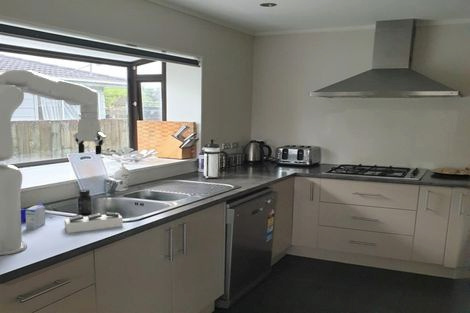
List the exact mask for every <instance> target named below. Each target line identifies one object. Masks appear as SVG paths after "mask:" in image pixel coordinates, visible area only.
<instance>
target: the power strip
mask: <svg viewBox="0 0 470 313" xmlns="http://www.w3.org/2000/svg"><path fill="white" fill-rule="evenodd" d="M88 216H89V215H87V216H83V219H81V220H77V221H73V222H70V220H69V218H64V229H65V231H66V233H67V234H70V233H71V234H72V233H78V232H87V231H95V230H103V229H111V228H118V227H123V217H122V215H121V214H119V217H112V216H106V215H105V214H101V216H102V217H99V218H95V219H91V220H89V219H88Z"/></svg>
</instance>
